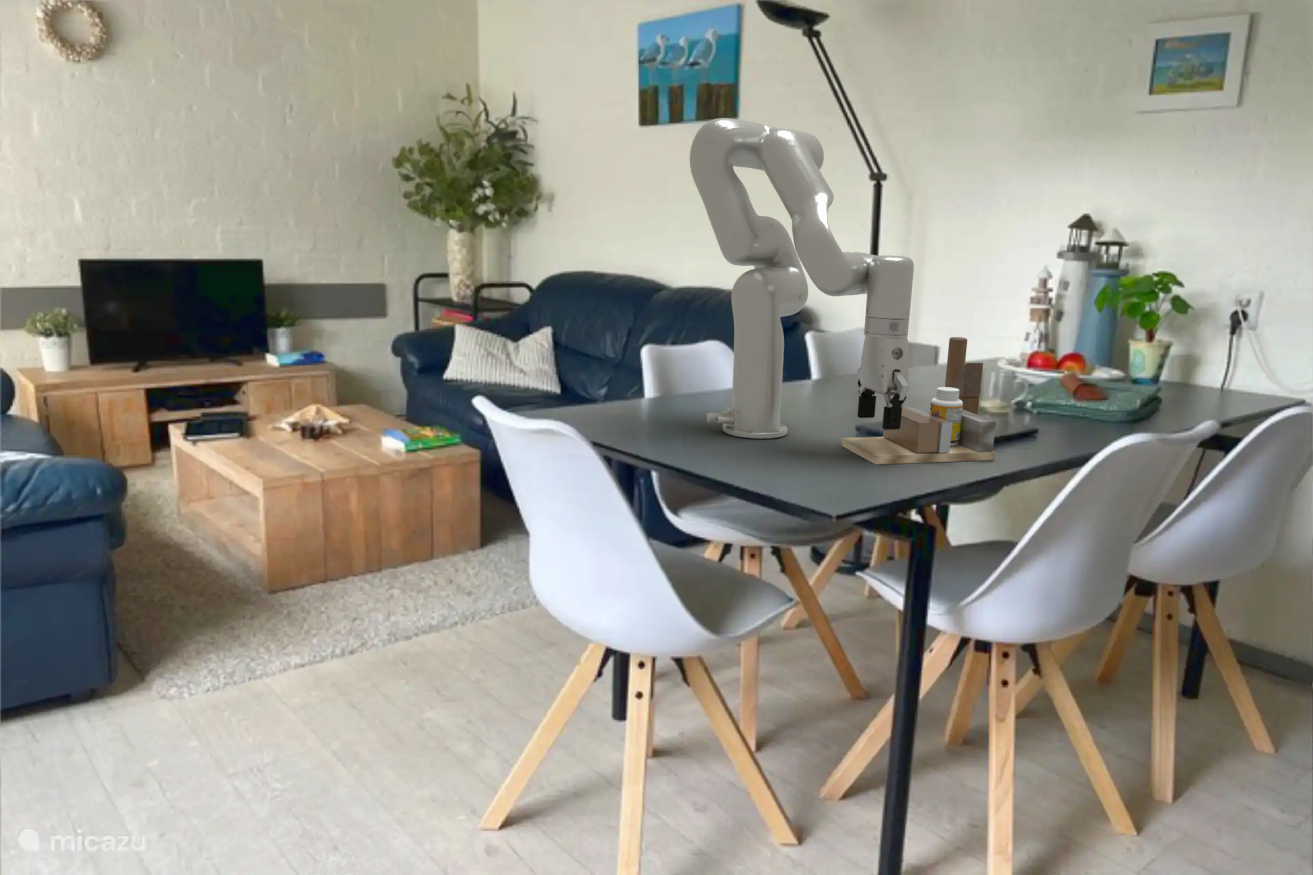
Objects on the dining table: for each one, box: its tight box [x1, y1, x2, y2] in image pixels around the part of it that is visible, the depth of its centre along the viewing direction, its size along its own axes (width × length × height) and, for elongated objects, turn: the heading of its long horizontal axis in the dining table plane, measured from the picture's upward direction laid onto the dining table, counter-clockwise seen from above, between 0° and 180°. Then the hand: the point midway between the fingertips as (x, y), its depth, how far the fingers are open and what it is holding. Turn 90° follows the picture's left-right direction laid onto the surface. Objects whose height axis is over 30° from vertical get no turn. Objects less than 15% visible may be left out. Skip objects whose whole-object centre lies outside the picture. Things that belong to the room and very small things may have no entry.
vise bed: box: [841, 409, 997, 465], centre depth 176 cm, size 23×14×7 cm, turn 104°
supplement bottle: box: [929, 386, 963, 447], centre depth 176 cm, size 6×6×10 cm
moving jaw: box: [882, 406, 952, 453], centre depth 175 cm, size 6×14×5 cm, turn 14°
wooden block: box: [944, 336, 984, 415], centre depth 198 cm, size 4×11×18 cm, turn 7°
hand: (878, 423), depth 173 cm, fingers open, 9 cm apart
